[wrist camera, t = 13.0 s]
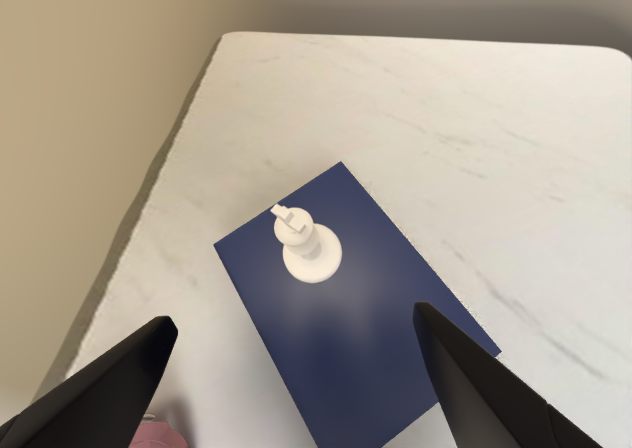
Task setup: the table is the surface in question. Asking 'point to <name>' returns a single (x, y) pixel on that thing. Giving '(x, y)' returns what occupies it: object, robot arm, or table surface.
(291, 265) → the chess piece
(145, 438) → the video game controller
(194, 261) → the table surface
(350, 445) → the blue book
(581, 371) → the table surface
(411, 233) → the table surface
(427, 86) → the table surface
